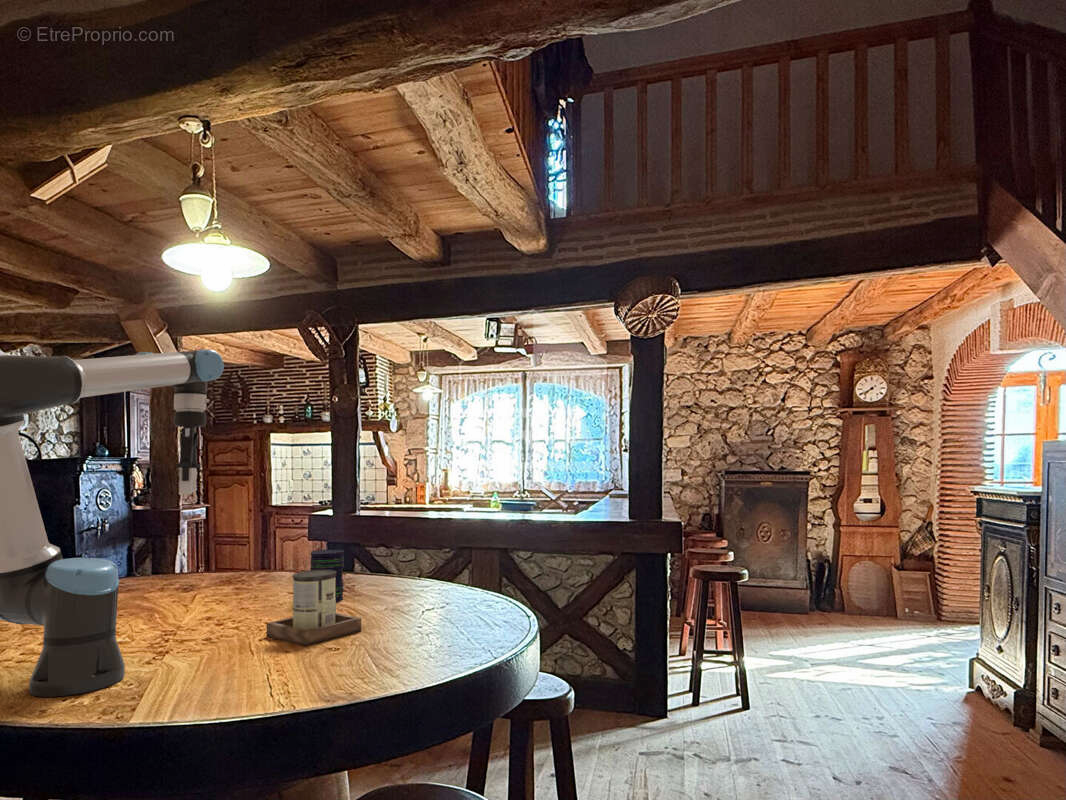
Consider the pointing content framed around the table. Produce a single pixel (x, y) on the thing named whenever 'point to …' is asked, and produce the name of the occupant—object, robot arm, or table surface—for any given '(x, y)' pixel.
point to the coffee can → (314, 599)
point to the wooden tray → (313, 630)
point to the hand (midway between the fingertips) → (187, 493)
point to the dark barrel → (330, 566)
